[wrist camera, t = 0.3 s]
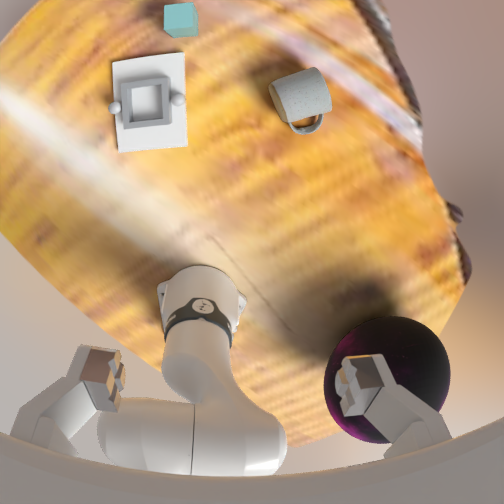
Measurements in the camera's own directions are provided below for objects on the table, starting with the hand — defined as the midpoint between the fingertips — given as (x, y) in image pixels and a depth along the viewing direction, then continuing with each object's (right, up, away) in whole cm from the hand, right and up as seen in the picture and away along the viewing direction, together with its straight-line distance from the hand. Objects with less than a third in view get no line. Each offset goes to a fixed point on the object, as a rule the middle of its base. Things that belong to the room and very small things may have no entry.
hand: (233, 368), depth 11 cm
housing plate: (-16, +29, +35) cm, 48 cm away
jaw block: (-10, +40, +29) cm, 51 cm away
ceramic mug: (+8, +29, +37) cm, 48 cm away
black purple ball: (+30, -18, +65) cm, 74 cm away
